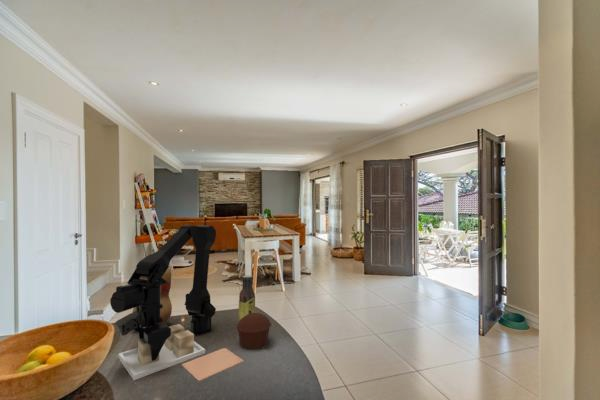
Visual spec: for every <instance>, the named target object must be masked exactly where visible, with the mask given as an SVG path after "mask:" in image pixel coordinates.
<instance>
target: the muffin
mask: <svg viewBox="0 0 600 400" xmlns="http://www.w3.org/2000/svg"><path fill="white" fill-rule="evenodd" d="M271 326H272V323H271V321H270V319H269V317H267V316H266V315H265V314H262V313H260V312H255V313H251V314H248V315H246V316H244V317H243V318H242V319H241V320H240V321H239V322H237V324H236V330H237V331H238V339H239V345H240V346H241V348H243V349H246V350H258V349H260V348H262V349H264V348H263V347H266V346H267V345H266V343H267V344H268V340H269V339H268V338H269V335H270V334H269V333H270V328H271ZM265 345H266V346H265Z"/></svg>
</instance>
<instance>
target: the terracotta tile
mask: <svg viewBox="0 0 600 400" xmlns="http://www.w3.org/2000/svg"><path fill="white" fill-rule="evenodd" d="M244 362H245V360H244V359H242V358H241V357H240V356H238V355H236V354H235V353H234V352H232V351H230V350H229V349H228V348H226V347H224V348H223V347H222V348H221V349H218V350H216V351H213V352H210V353H208V354H204V355H201V356H200V357H199V356H198V357H196V358H193V359H190V361H189V360H188V361H187V362H186V361H185V362H183V363H181V366H182V367H183V368H184V369H185V370H186V371H187V372H188V373H189V374H190V375H191V376H193V377H194V378H195V379H196V380H197V381H198V382H201V381H203V380H205V379H207V378H210V377H212V376H215V375H216V374H219V373H221V372H224V371H226V370H229V369H230V368H232V367H235V366H237V365H239V364H241V363H244Z"/></svg>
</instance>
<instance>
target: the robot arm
mask: <svg viewBox="0 0 600 400" xmlns="http://www.w3.org/2000/svg"><path fill="white" fill-rule="evenodd" d="M216 236H217V229H215V227H214V226H212V225H196V226H195V225H193V224H183V225H181V226H180V227H179V229H178V230H177V231H176V232H175V233H174V234H173V235H172V236H171V238H169V239H168V240H167V241H166V242H165V243H164V244H163V245H162V246H161V247H160V248H159V249H158V250H157V251H155V252H153V253H151V254H149V255H146V256H145V257H143V258H142V259H141V260H139V262H138V263H137V264H136V266H135V270H134V271H133V272H132V275H131V276H130V277H129V279H128V281H127V284H125V285H118V286H116V289H115V291H114V292H113V294H112V295H111V297H110V301H109V303H110V307H111V309H112V311H114V312H115V313H117V314H120V313H123V312H125V311H128V310H131V309H132V310H133V309H134V308H135V307H136V311H135V312H133V311H132V312H133V313H132V312H131V313H128V314H127V315H125V316H122V317H121V318H120V319H117V320H116V321H115V323H114V324H115V325H116V329H117V330H118V333H119V334H120V335H121V336H122V337H123V336H126V335H128V334H129V333H131V332H132V331H135V332H136V333H137V335H138V336H137V337H138V340H140V339H143V338H144V341H145V342H146V343H147V344H149V346H150V353H151V359H152V361H154V360H156V359H157V357H158V355H159V353H160V351H161V349H162V347H163V345H164V343H165V341H166V339H167V338H169V337H170V336H171V328H169V326H168V325H167V324H166V323H163V324H159V325H158V323H160V322H162V318H161V317H160V309H161V308H163V305H162V304H161V303H160V299H161V285H162V284H165V283H167V281H166V280H164V279H163V278H162V276H163V275H164V273H165V272H166V271H167V269H168V268H169V266H170V262H171V261H172V259H173V258H174V257H175V256H176V255H177V254H178V253H179V252H180V251H181V249H182V248H183V247H185V245H186V244H187V243H188V242H189V241H190V240H191V239H192V244H193V246H194V248H195V257H194V269H193V281H192V289H191V290H190V292H189V293H186V294H185V302H184V306H185V310H186V311H187V313H188V316H191V320H190V329H189V331H190V332H191V333H193V334H194V336H201V335H205V334H207V333H210V332H213V331H214V329H213V328H212V318H213V317H214V316H215V315H216V310H217V308H216V307H215V306H214V305H213V304H212V303H211V295H210V292H209V291H208V287H207V286H208V278H209V277H208V276H209V275H208V274H209V262H210V251H211V249H212V247H213V245H214V244H215V241H216V238H217V237H216ZM140 278H144V279H148V280H143V279H140Z"/></svg>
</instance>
